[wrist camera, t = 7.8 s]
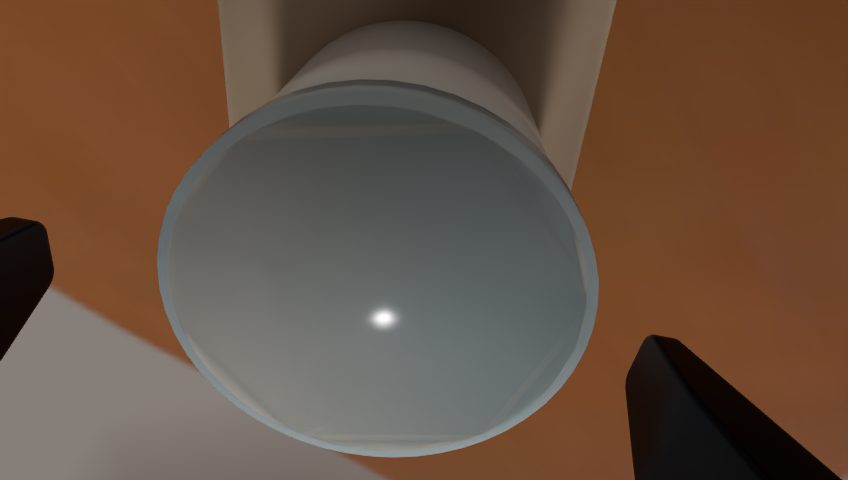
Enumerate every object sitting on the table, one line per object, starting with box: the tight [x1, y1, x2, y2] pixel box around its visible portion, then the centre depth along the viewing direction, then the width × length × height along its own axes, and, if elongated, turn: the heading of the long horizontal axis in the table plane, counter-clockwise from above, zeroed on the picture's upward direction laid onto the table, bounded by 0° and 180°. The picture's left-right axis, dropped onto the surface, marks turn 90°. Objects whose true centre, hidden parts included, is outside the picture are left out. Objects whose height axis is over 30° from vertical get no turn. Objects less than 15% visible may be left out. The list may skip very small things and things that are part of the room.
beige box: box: [218, 0, 617, 192], centre depth 16 cm, size 8×8×6 cm
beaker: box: [157, 20, 599, 457], centre depth 11 cm, size 6×6×6 cm
